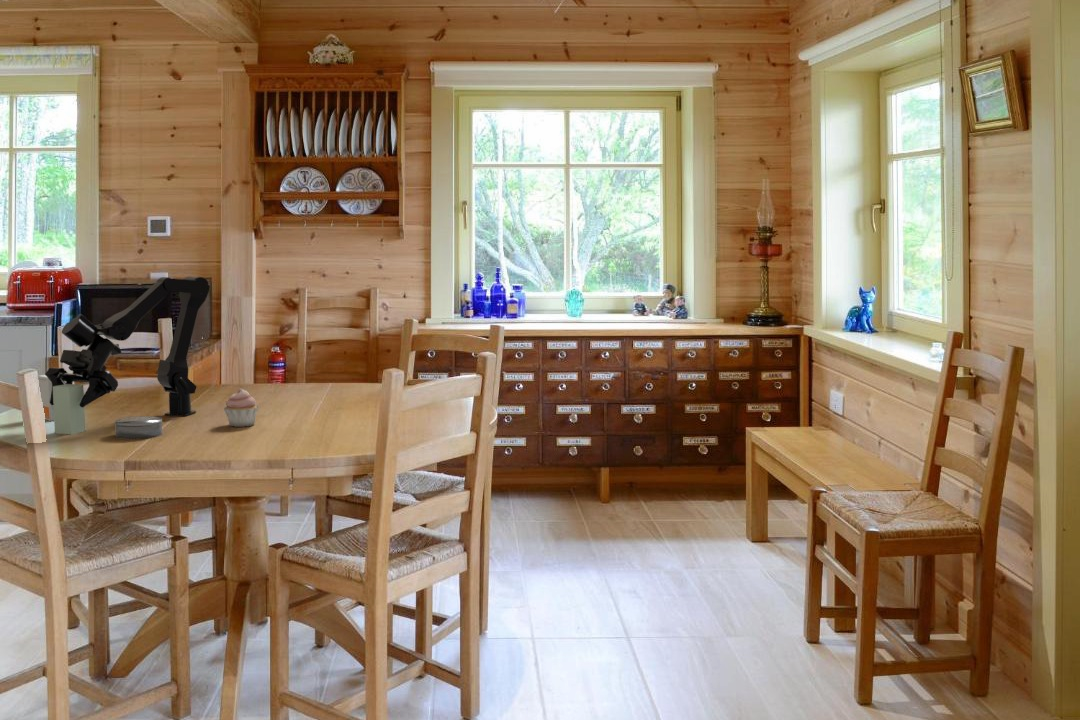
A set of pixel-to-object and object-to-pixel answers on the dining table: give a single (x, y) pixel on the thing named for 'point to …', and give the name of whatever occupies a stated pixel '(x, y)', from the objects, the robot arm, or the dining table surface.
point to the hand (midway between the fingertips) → (65, 405)
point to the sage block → (68, 409)
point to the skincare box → (46, 396)
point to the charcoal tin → (138, 427)
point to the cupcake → (241, 409)
